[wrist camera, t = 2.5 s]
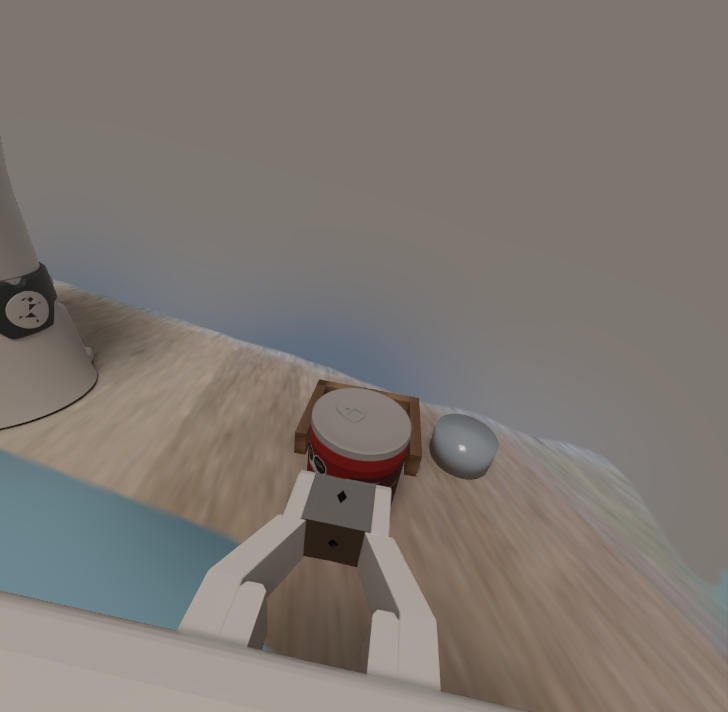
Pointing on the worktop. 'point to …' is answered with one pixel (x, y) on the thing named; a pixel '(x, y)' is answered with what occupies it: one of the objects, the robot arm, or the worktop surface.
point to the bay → (405, 402)
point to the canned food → (359, 437)
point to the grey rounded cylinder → (463, 446)
